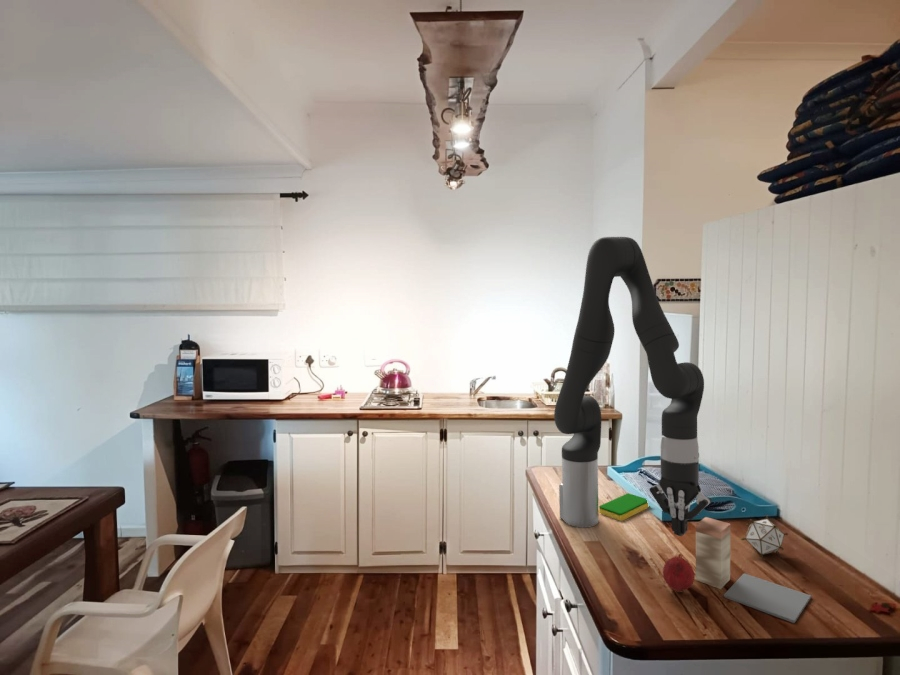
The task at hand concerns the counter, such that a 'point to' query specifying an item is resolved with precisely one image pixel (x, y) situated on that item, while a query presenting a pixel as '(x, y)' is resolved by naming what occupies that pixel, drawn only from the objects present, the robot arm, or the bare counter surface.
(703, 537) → the beech block
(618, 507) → the dish sponge
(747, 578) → the mat
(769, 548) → the game die
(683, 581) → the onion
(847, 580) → the counter surface
